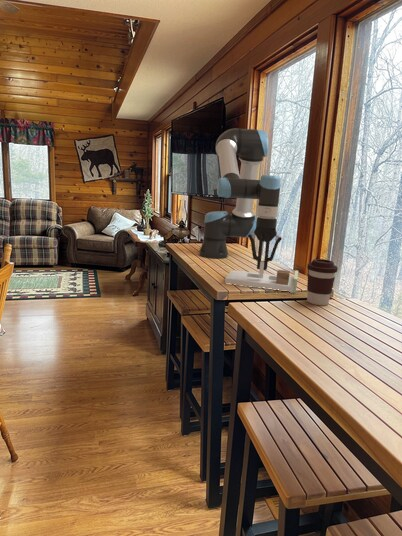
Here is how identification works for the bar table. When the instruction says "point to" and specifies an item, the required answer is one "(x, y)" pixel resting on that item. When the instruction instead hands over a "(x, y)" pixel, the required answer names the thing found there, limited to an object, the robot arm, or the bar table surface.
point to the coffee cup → (320, 281)
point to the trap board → (260, 280)
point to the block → (282, 277)
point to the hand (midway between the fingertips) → (261, 277)
